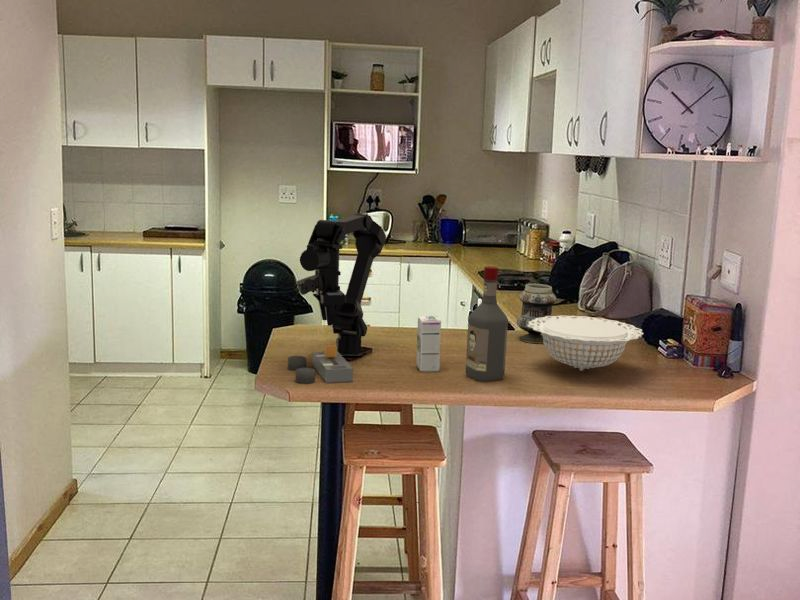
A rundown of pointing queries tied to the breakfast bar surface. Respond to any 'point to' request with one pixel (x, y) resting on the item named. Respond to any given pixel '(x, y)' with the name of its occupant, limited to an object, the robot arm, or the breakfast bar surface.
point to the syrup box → (428, 343)
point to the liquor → (487, 334)
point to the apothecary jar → (535, 309)
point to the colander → (584, 338)
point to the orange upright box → (330, 350)
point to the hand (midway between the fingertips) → (327, 322)
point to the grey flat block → (333, 368)
